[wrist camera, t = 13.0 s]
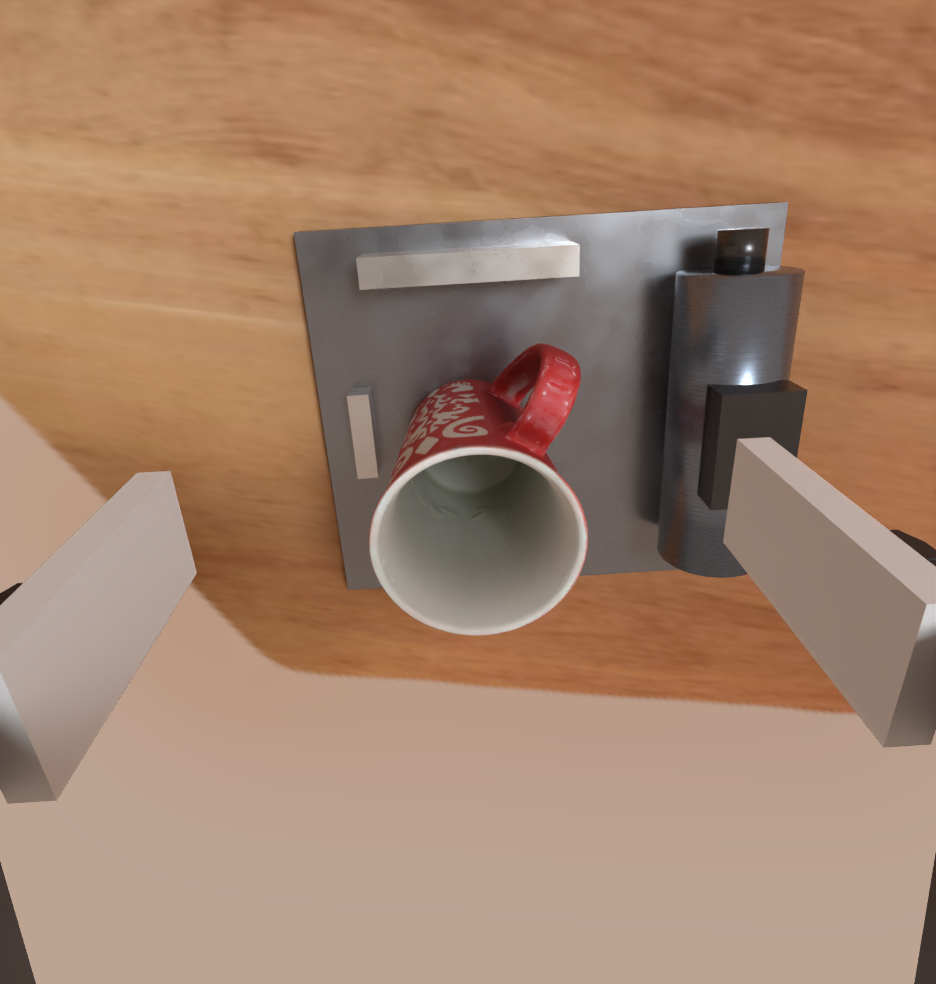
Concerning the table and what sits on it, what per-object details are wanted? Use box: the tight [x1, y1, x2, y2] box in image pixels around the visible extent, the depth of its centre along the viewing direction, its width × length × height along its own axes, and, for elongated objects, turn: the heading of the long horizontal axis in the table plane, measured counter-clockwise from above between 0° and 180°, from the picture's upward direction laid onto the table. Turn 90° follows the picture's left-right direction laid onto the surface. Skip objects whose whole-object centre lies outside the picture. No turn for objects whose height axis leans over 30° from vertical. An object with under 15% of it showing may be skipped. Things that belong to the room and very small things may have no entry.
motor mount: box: [294, 202, 807, 590], centre depth 36 cm, size 26×22×8 cm
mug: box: [369, 343, 588, 635], centre depth 33 cm, size 13×9×14 cm
